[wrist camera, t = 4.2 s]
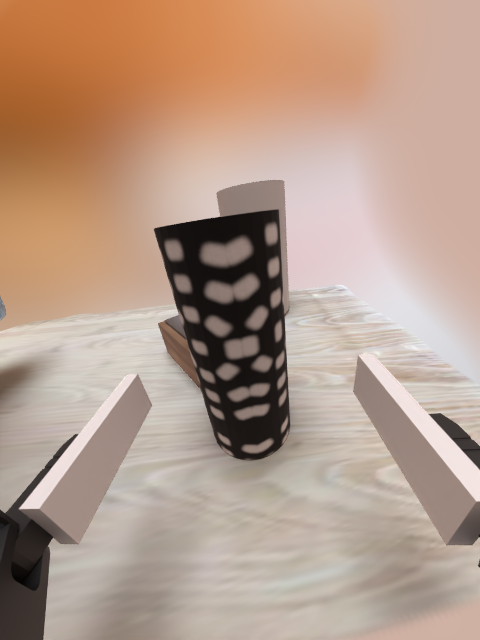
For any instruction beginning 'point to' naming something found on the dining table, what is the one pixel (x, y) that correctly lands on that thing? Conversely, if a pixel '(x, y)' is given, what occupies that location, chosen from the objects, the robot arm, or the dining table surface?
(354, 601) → the dining table surface
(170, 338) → the display pedestal
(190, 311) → the spotted tube
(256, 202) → the cylinder vase
